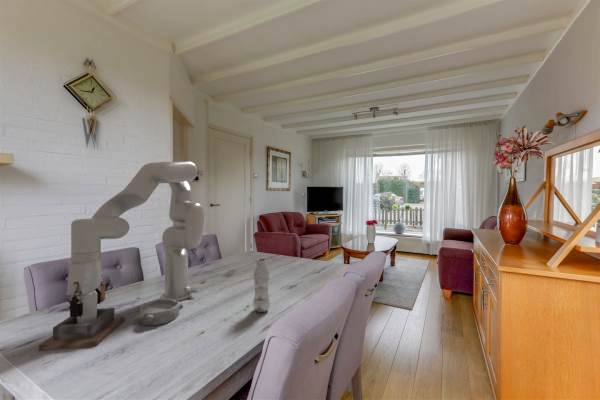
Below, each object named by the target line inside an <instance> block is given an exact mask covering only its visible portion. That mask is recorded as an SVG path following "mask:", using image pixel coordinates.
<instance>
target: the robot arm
mask: <svg viewBox="0 0 600 400" xmlns="http://www.w3.org/2000/svg"><path fill="white" fill-rule="evenodd" d="M198 172H199V170H198V167H197V165H196V164H195V163H194V162H192V161H190V160H187V161H186V160H185V161H157V162H155V161H154V162H149V163H148V162H147V163H145V164H143V166H142V167H141V168H140V169H139V170H138V171H137V172H136V174H135V175H134V177H132V179H131V180H130V181H129V183H128V184H127V185H126V186H125V187H124V189H122V190H121V191H119V192H118V193H117V194H115V195H114V196H113V197H111V198H110V199H108V200H107V201H105V202H104V203H103V204H102V205H101V206H100V207H99V208H98V209H97V211H96V212H95V213H94V214H93V216H92V217H91V218H78V219H74V220H72V222H71V224H70V227H71V228H70V230H71V231H70V242H71V243H70V252H71V254H70V263H71V264H70V267H69V270H68V277H67V289H66V290H67V292H65V296H66V299H67V303H68V305H69V317H79V316H82V315H83V303H81V301H82V299H83V297H84V295H86V294H88V293H90V292H91V291H93V290H95V291H96V292H97V305H100V304H101V303H102V302H101V292H100V291H101V290H102V289H101V286H102V280H103V279H104V275H103V276H101V274H102V267H101V266H102V265H101V260H102V251H101V250H102V249H101V246H102V245H101V244H102V240H117V239H121V238H123V237H125V236H126V235H127V234H128V233H129V231H130V224H129V222H128V221H127V220H126V219H125V218H123V217H121V216H122V215H124V213H126V212H127V211H129V210H131V209H134V208H137V207H139V206H142V205H143V204H145V203H146V202H147V201H148V200H149V198H150V197H151V195H152V194H153V193H154V192H155V190H156V188H157V187H158V186H159V184H168V185H169V186H170V189H171V194H170V195H171V196H170V205H169V213H168V216H169V220H170V221H171V222H173V223H177V224H184V225H185V226H183V225H182V226H181V225H172V226H169V227H167V228H165V229H164V231H163V233H162V237H161V241H162V246H163V250H164V251H163V252H164V293H162V294H161V295H160V299H173V300H175V301H178V302H180V301H184V300H187V299H189V298H191V296H192V294H193V293H199V288H198V287H197V286H193V287H192V286H191V284H190V283H189V255H188V250H194V249H197V248H198V247H199V246H200V244H201V242H202V239H203V232H204V224H205V210H204V207H203V205H202V204H200V203H198V202H195V201H192V196H193V193H192V192H193V191H192V187H191V185H190V183H189V182H191V181H193V180H194V179H196V177H197V176H198ZM79 292H81V293H79ZM78 296H79V298H78V299H77V297H78Z"/></svg>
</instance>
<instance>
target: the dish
mask: <svg viewBox="0 0 600 400" xmlns="http://www.w3.org/2000/svg"><path fill="white" fill-rule="evenodd" d="M183 307H184V303H183V302H181V303H180V301H175V300H173V299H161V298H158V299H154V300H153V299H152V300H150V301H147V302H145V303H142V305H140V307H139V314H138V315H139V316H138V317H139V321H140V323H141V324H143V325H144V326H161V325H164V324H167V323H169V322H171V321H174V320H175V319H177V317H178V316H179V315H180V310H182V309H183Z"/></svg>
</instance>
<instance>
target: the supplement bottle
mask: <svg viewBox="0 0 600 400" xmlns="http://www.w3.org/2000/svg"><path fill="white" fill-rule="evenodd" d="M101 276H103V277H104V275H103V273H101ZM101 289H102V290H101V291H100V292H101V301H102V302H104V301H105V300H106V279H105V278H103V280H102V286H101ZM103 300H104V301H103Z"/></svg>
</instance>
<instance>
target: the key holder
mask: <svg viewBox="0 0 600 400" xmlns="http://www.w3.org/2000/svg"><path fill="white" fill-rule="evenodd" d="M124 321H125V316H124V315H122V316H115V307H107V308H105V307H104V308H103V307H102V308H97V318H96V319H95V320H93V321H92V322H91V323H83V324H77V317H70V316H69V317H67V318H66V319H64V320H62V321H61V322H59V323H58V324H57V325H55V326H53V327H52V335H51V337H49V338H48V339H46V340H45V341H43V342H42V343H40V344H39V345H38V351H51V350H63V349H64V350H65V349H74V348H87V347H88V348H89V347H98V346H99V345H100V344H101V343H102V342H103V341H104V340H105V339H106V338H107V337H108V336H110V334H111V333H112V332H113V331H115V330H116V329H117V328H118V327H119V326H120V325H121V324H122V323H123V322H124Z"/></svg>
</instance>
